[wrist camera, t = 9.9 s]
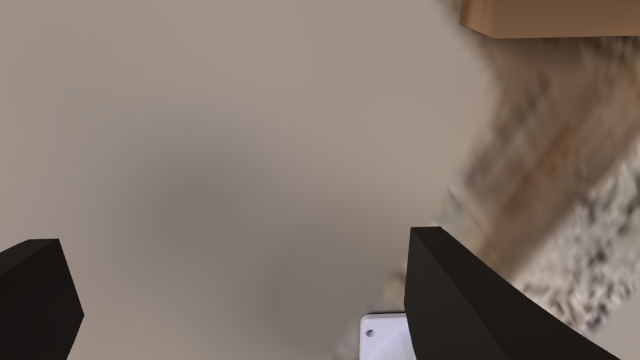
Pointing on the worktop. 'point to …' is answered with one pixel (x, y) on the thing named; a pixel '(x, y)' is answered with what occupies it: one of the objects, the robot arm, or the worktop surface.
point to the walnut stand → (552, 18)
